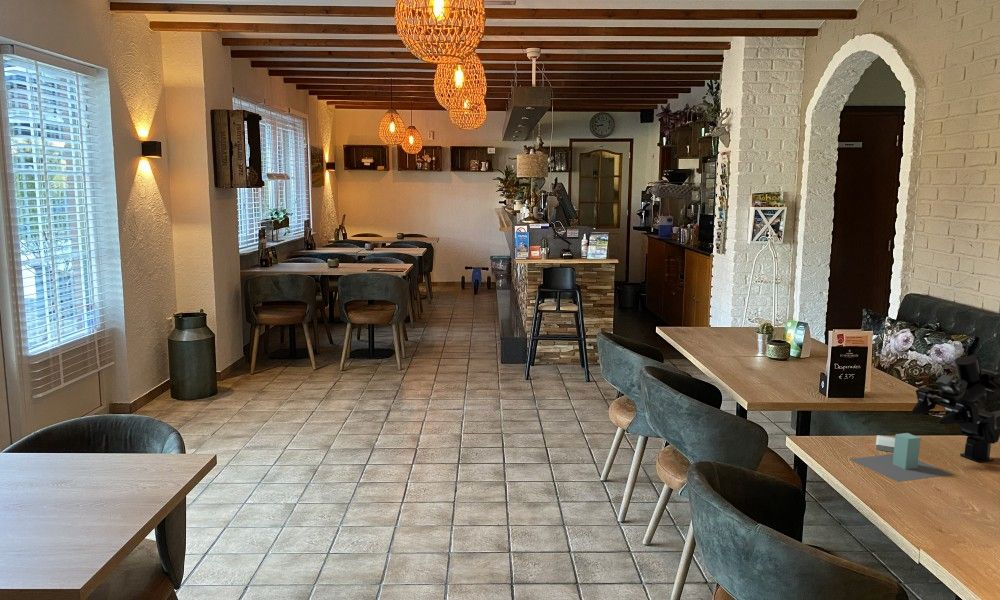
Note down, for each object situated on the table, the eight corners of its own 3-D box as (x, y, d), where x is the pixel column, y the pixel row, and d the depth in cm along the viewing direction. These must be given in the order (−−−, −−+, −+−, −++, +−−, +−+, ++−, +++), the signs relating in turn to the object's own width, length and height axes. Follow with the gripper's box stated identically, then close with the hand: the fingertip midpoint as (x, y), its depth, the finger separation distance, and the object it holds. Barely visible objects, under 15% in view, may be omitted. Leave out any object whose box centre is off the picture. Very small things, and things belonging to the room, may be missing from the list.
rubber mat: (900, 454, 229) (901, 452, 229) (952, 475, 212) (953, 474, 212) (848, 460, 223) (848, 459, 223) (897, 482, 206) (897, 481, 206)
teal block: (904, 462, 221) (907, 432, 220) (917, 467, 217) (920, 437, 215) (892, 463, 219) (895, 434, 218) (905, 469, 215) (908, 439, 214)
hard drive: (905, 449, 228) (905, 438, 239) (875, 444, 231) (876, 434, 242) (905, 454, 228) (904, 443, 239) (875, 449, 232) (876, 439, 243)
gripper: (932, 363, 228) (893, 385, 224) (989, 378, 211) (948, 402, 207) (939, 395, 231) (901, 417, 227) (996, 412, 214) (955, 437, 210)
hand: (925, 417), depth 218 cm, fingers open, 9 cm apart
